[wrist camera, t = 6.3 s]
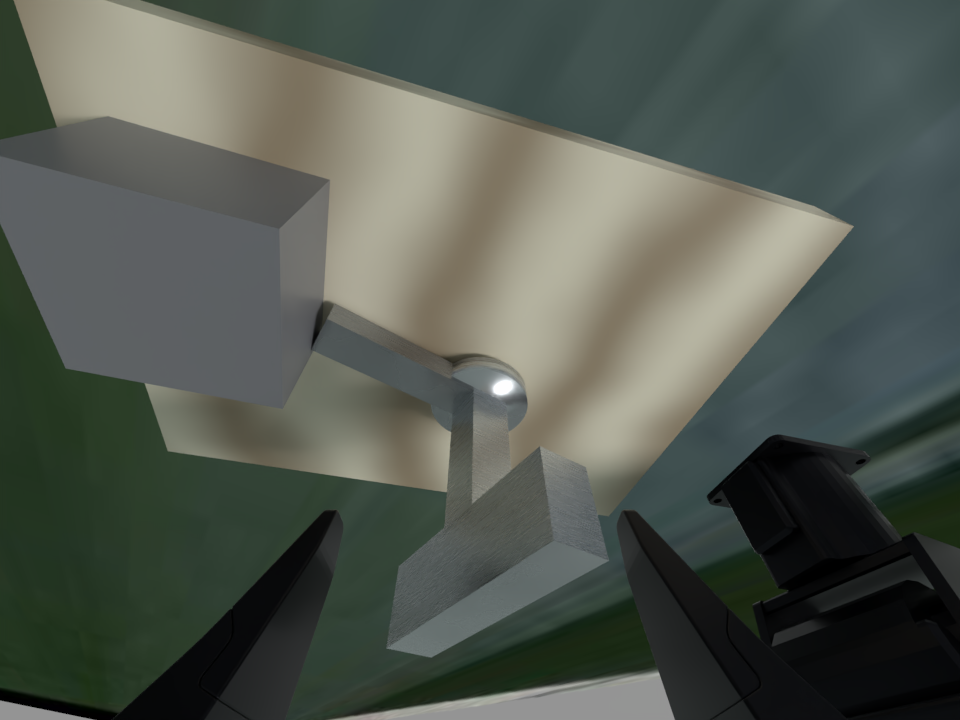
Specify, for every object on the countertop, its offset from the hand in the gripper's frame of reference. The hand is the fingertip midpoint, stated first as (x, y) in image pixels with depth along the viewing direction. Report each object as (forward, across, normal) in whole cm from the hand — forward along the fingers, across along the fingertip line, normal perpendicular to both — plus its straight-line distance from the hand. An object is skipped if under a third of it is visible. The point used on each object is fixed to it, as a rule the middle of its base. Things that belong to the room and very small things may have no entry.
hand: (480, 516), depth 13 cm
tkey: (+6, -2, +1) cm, 6 cm away
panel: (+8, -2, +2) cm, 8 cm away
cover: (+6, -8, +6) cm, 12 cm away
